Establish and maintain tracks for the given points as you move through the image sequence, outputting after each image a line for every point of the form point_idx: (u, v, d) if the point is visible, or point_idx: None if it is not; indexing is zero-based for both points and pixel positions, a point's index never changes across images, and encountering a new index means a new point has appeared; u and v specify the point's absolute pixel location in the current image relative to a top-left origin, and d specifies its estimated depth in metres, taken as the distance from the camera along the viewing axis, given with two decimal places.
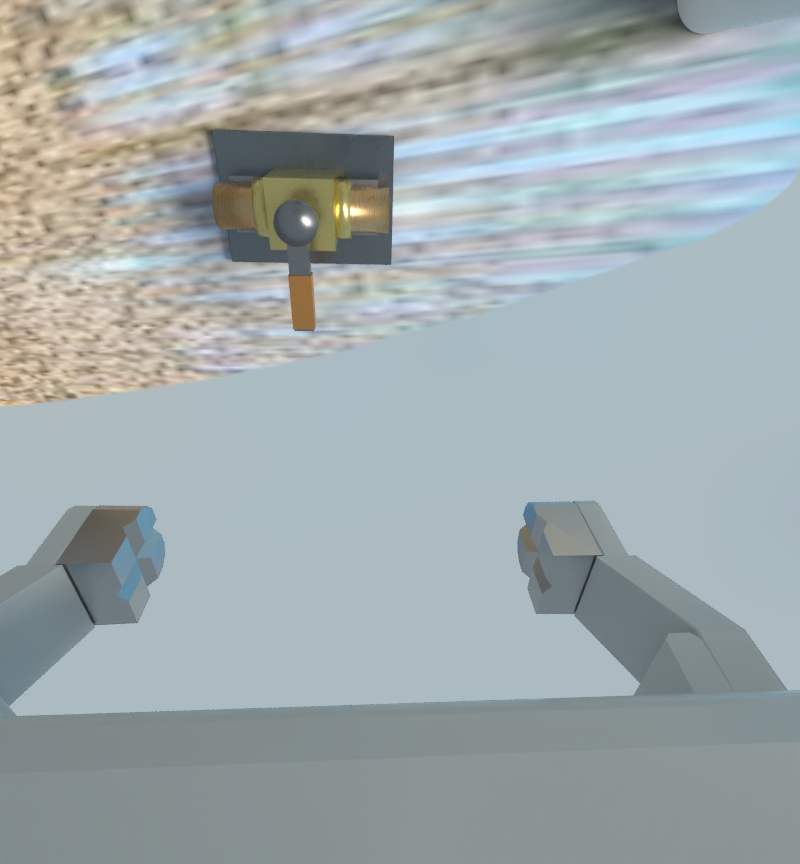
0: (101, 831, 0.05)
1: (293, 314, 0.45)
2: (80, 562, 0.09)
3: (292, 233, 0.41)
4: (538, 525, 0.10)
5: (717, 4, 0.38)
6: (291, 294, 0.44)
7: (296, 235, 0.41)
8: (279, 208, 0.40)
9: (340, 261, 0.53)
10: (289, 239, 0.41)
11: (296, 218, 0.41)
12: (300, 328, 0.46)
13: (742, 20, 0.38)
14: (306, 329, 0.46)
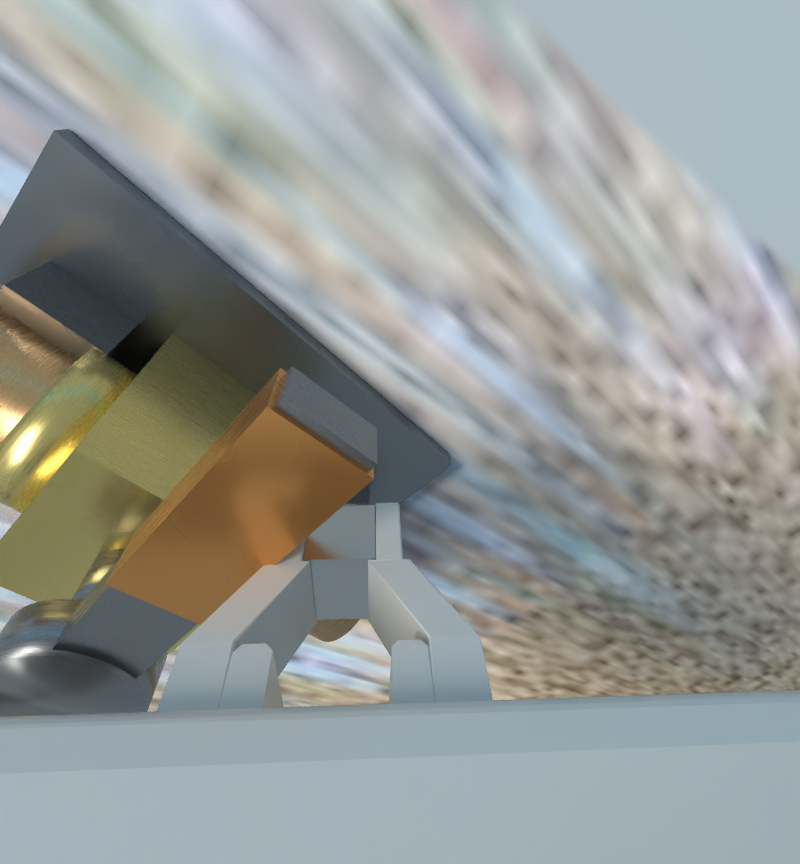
0: (101, 831, 0.05)
1: (310, 524, 0.08)
2: (326, 558, 0.09)
3: (86, 695, 0.11)
4: None
5: None
6: None
7: (75, 687, 0.10)
8: None
9: (218, 277, 0.16)
10: (109, 691, 0.11)
11: (44, 711, 0.11)
12: (338, 458, 0.07)
13: None
14: (314, 433, 0.07)
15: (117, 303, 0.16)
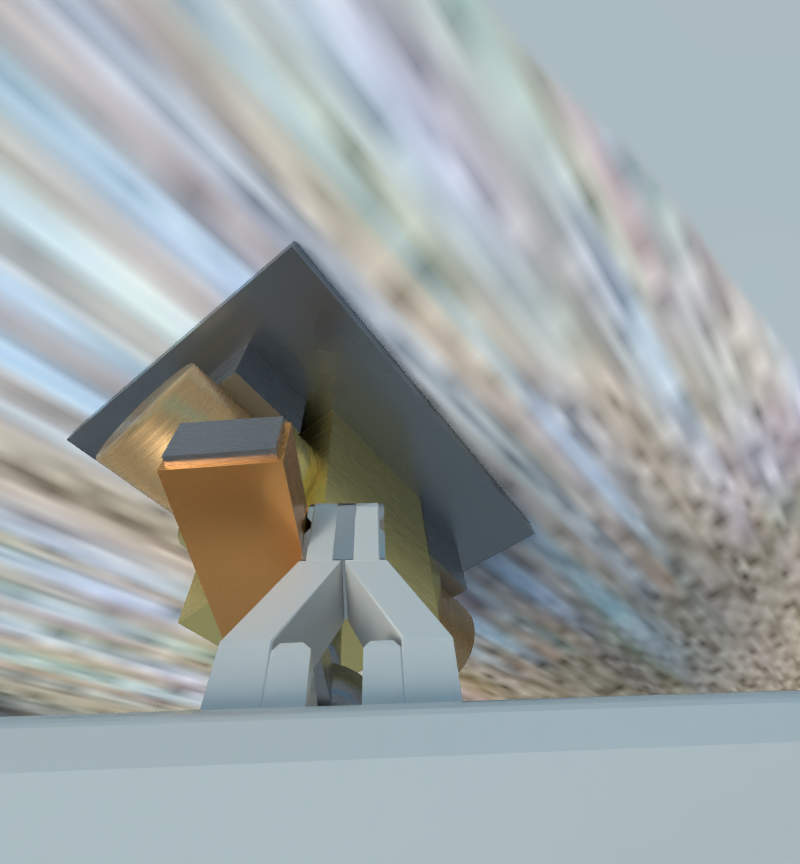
0: (101, 831, 0.05)
1: (288, 526, 0.09)
2: (357, 557, 0.09)
3: None
4: (310, 528, 0.10)
5: None
6: None
7: None
8: None
9: (388, 369, 0.19)
10: None
11: None
12: (242, 467, 0.08)
13: None
14: (207, 462, 0.08)
15: (293, 381, 0.19)
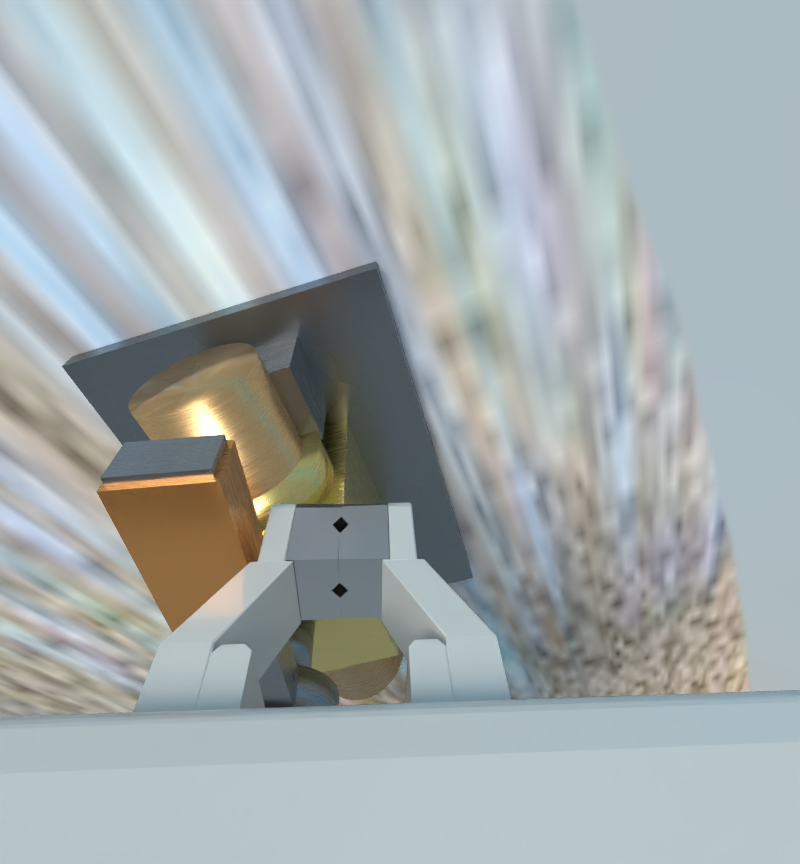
0: (101, 831, 0.05)
1: (232, 541, 0.09)
2: (309, 558, 0.09)
3: None
4: (344, 527, 0.10)
5: None
6: None
7: None
8: None
9: (412, 402, 0.20)
10: None
11: None
12: (180, 486, 0.08)
13: None
14: (145, 483, 0.08)
15: (322, 384, 0.19)
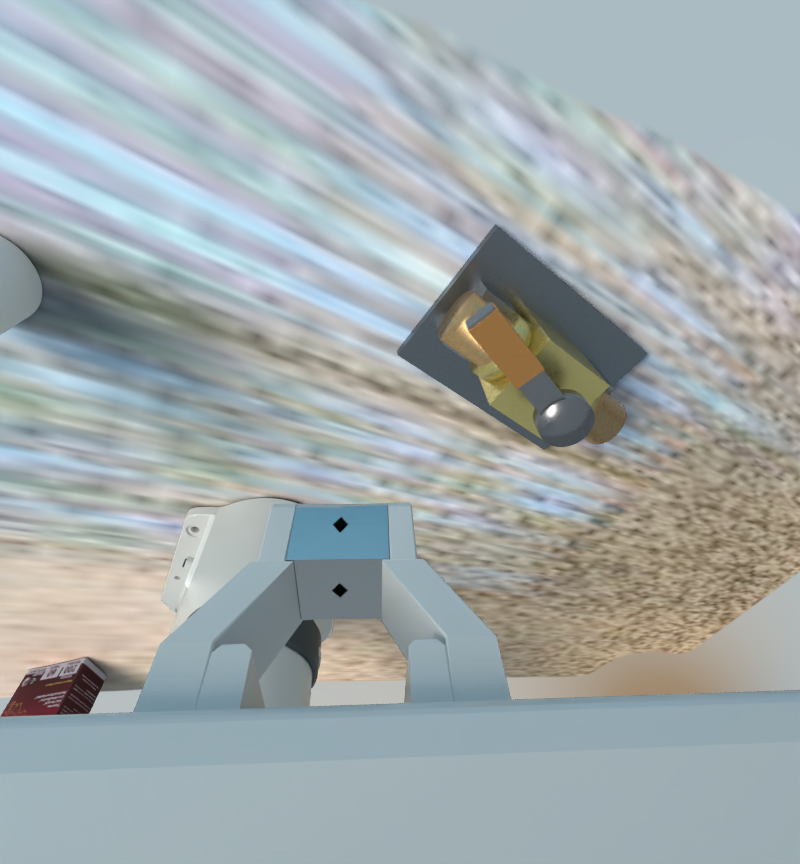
0: (101, 831, 0.05)
1: (510, 329, 0.28)
2: (309, 558, 0.09)
3: (565, 414, 0.31)
4: (344, 527, 0.10)
5: None
6: (528, 351, 0.28)
7: (559, 416, 0.31)
8: (591, 425, 0.32)
9: (549, 274, 0.36)
10: (565, 407, 0.31)
11: (568, 429, 0.32)
12: (488, 317, 0.27)
13: None
14: (479, 322, 0.27)
15: (503, 294, 0.37)
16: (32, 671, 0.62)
